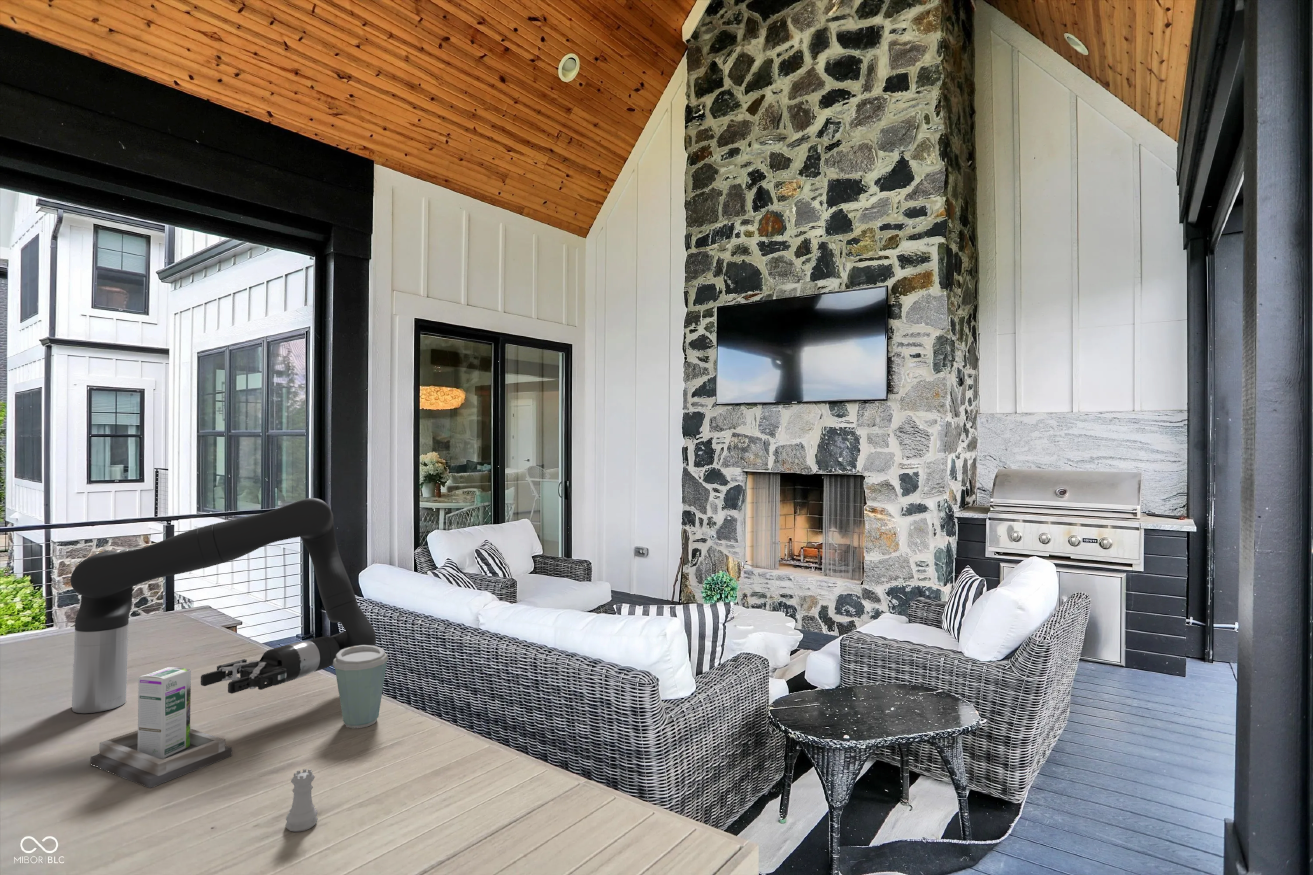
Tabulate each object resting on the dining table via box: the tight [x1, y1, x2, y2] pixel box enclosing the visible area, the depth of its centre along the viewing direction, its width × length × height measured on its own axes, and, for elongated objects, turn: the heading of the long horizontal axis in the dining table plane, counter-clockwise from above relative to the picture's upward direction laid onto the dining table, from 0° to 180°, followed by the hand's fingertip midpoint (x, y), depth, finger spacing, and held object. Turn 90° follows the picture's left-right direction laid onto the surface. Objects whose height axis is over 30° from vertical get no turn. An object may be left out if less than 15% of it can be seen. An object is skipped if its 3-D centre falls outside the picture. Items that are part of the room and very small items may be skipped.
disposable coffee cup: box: [332, 645, 389, 729], centre depth 147 cm, size 11×11×15 cm
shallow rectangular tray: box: [90, 728, 233, 789], centre depth 128 cm, size 18×14×4 cm
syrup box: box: [137, 666, 192, 759], centre depth 128 cm, size 6×6×14 cm
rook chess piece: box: [285, 768, 319, 833], centre depth 107 cm, size 4×4×8 cm
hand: (215, 684), depth 136 cm, fingers open, 8 cm apart
